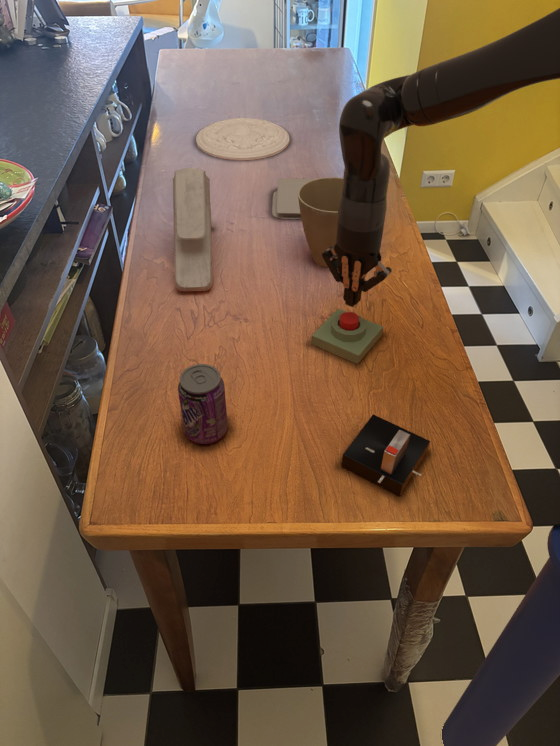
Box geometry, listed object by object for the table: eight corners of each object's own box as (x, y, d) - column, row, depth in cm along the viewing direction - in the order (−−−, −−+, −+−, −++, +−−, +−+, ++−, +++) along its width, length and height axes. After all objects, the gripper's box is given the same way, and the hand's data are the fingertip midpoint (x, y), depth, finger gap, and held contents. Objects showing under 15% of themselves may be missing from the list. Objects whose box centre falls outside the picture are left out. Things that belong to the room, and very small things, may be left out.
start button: (361, 323, 113) (362, 316, 112) (352, 333, 111) (353, 326, 110) (345, 316, 115) (345, 309, 113) (335, 326, 113) (336, 319, 111)
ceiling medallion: (296, 157, 173) (296, 146, 171) (198, 162, 170) (197, 151, 168) (282, 119, 193) (282, 109, 191) (194, 123, 190) (193, 113, 188)
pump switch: (382, 335, 116) (384, 319, 114) (357, 364, 110) (359, 348, 108) (337, 316, 120) (338, 300, 118) (311, 344, 114) (312, 327, 112)
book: (273, 189, 159) (273, 175, 156) (360, 190, 159) (361, 176, 156) (271, 218, 148) (271, 204, 145) (365, 220, 148) (366, 206, 145)
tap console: (436, 457, 95) (440, 444, 93) (404, 509, 88) (408, 497, 86) (370, 426, 100) (373, 413, 97) (336, 473, 93) (337, 460, 90)
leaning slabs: (184, 308, 142) (172, 285, 119) (182, 207, 144) (169, 165, 121) (217, 307, 142) (210, 283, 119) (214, 207, 145) (207, 165, 122)
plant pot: (313, 235, 143) (317, 171, 132) (371, 252, 138) (380, 187, 127) (283, 266, 133) (285, 200, 122) (345, 285, 128) (352, 218, 117)
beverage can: (178, 422, 100) (169, 370, 91) (217, 408, 102) (212, 356, 94) (193, 453, 95) (186, 400, 87) (234, 437, 98) (231, 385, 89)
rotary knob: (395, 448, 92) (399, 428, 89) (405, 453, 92) (410, 433, 88) (380, 470, 89) (384, 450, 86) (391, 475, 89) (395, 455, 85)
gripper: (408, 220, 97) (393, 305, 109) (337, 197, 102) (330, 281, 114) (387, 241, 93) (374, 327, 105) (314, 216, 98) (309, 301, 110)
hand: (351, 303), depth 110 cm, fingers closed
